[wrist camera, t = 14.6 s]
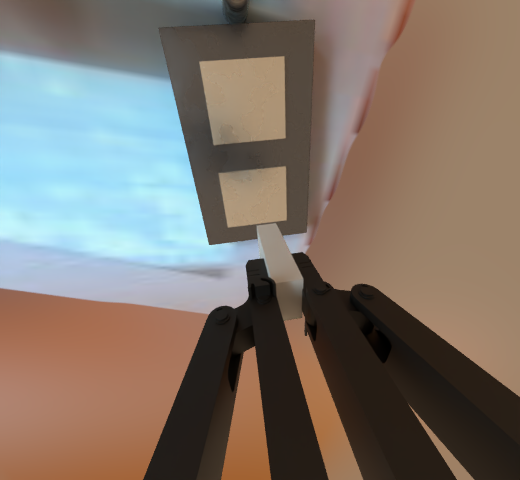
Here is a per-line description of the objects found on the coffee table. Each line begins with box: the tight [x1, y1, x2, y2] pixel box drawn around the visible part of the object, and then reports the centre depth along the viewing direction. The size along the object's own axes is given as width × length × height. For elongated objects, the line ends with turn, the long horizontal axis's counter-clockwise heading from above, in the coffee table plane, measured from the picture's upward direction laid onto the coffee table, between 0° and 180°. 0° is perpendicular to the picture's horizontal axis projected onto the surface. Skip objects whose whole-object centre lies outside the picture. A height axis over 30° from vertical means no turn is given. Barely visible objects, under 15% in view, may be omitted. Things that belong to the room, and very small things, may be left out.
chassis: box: [159, 0, 315, 245], centre depth 23 cm, size 25×14×5 cm, turn 4°
